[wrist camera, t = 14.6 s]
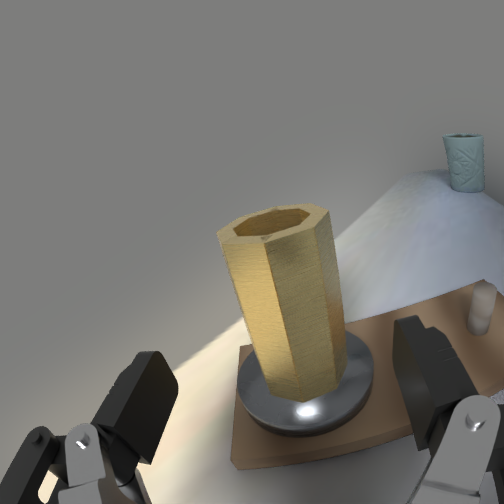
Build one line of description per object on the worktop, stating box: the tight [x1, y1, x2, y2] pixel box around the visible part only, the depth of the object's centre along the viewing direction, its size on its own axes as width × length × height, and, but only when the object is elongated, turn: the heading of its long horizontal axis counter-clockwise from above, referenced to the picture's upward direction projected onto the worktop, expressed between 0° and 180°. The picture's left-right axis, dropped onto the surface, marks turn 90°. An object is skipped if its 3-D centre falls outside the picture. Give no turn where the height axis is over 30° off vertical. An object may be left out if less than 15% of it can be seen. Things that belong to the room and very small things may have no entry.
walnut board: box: [231, 279, 504, 470], centre depth 17 cm, size 24×11×5 cm, turn 89°
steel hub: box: [237, 331, 374, 438], centre depth 17 cm, size 9×9×6 cm
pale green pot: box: [443, 134, 485, 193], centre depth 48 cm, size 10×10×12 cm
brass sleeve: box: [216, 203, 348, 403], centre depth 16 cm, size 5×5×10 cm
